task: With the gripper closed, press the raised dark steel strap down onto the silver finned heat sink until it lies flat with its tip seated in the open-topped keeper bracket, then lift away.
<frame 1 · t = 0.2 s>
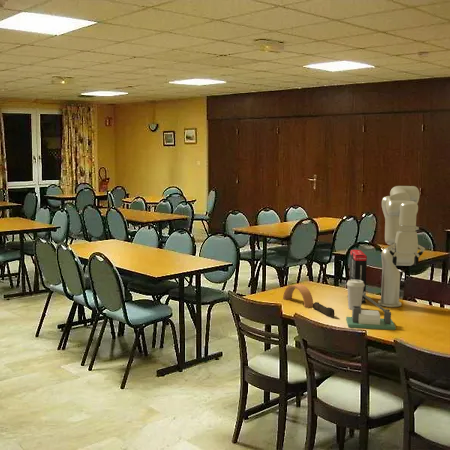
hand: (405, 264, 287), 31 cm above the table, tool pointing down, fingers open, 9 cm apart
graphics card box: (356, 299, 344), on the table
steel strap: (376, 303, 295), point 11 cm above the table, hinge at 35.0°
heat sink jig: (370, 324, 296), on the table
arch: (297, 303, 336), on the table
hand tool: (325, 314, 315), on the table
coffee cup: (354, 308, 325), on the table
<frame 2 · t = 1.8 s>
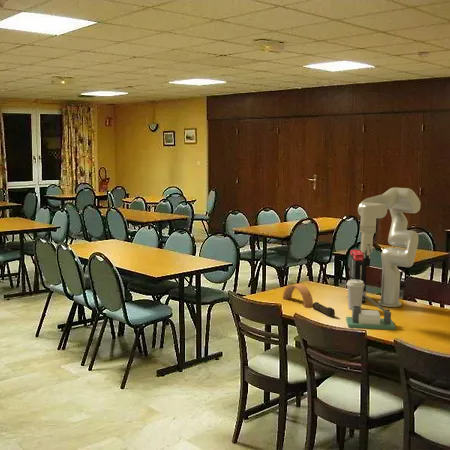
hand: (366, 265, 303), 27 cm above the table, tool pointing down, fingers closed
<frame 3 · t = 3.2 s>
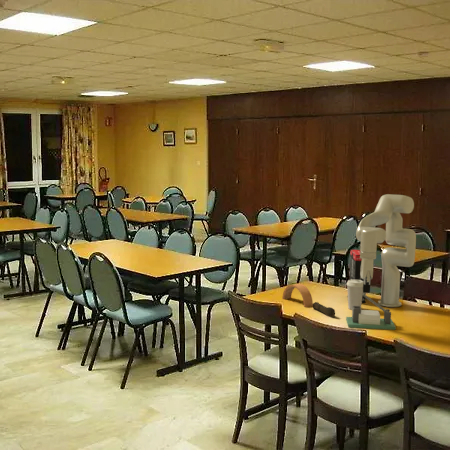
hand: (366, 292, 294), 16 cm above the table, tool pointing down, fingers closed
steel strap: (376, 303, 295), point 11 cm above the table, hinge at 35.0°, touching gripper
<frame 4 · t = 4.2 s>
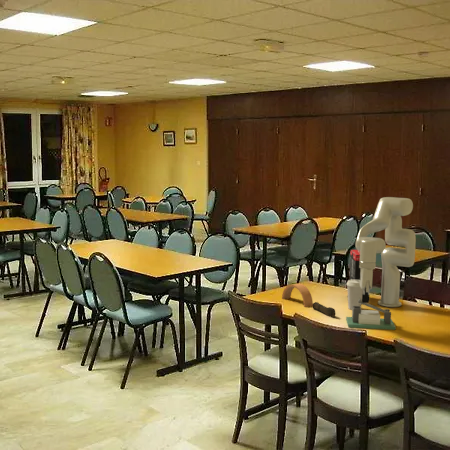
hand: (365, 302, 295), 11 cm above the table, tool pointing down, fingers closed
steel strap: (373, 306, 295), point 9 cm above the table, hinge at 19.7°, touching gripper
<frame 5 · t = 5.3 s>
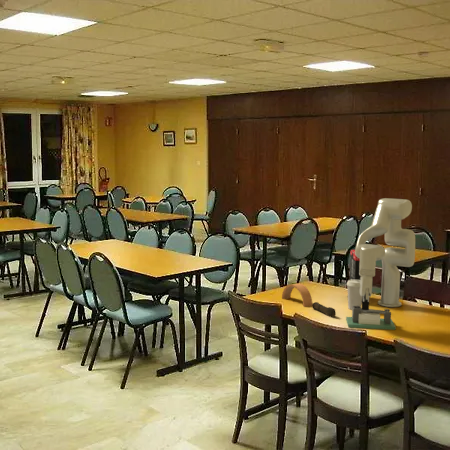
hand: (365, 309, 295), 8 cm above the table, tool pointing down, fingers closed
steel strap: (372, 310, 295), point 7 cm above the table, hinge at 4.1°, touching gripper
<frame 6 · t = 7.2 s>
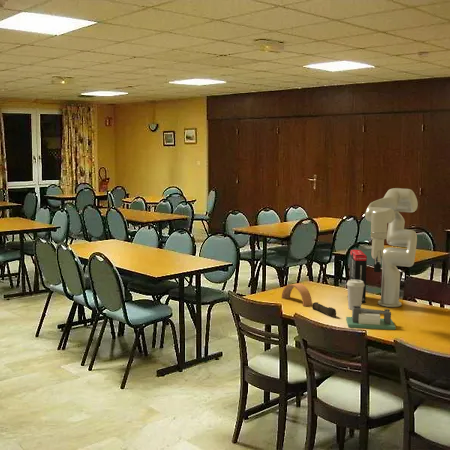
hand: (377, 271, 300), 25 cm above the table, tool pointing down, fingers closed
steel strap: (372, 310, 295), point 7 cm above the table, hinge at 4.0°
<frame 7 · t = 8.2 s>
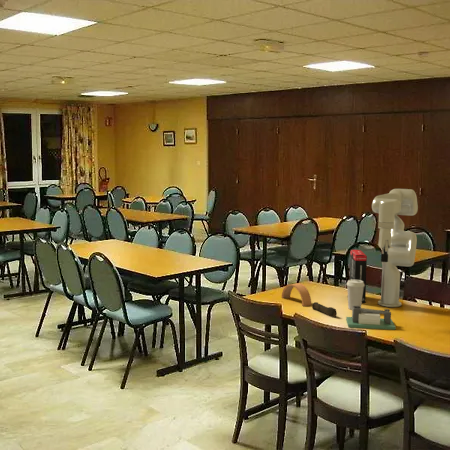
hand: (384, 261, 304), 29 cm above the table, tool pointing down, fingers closed
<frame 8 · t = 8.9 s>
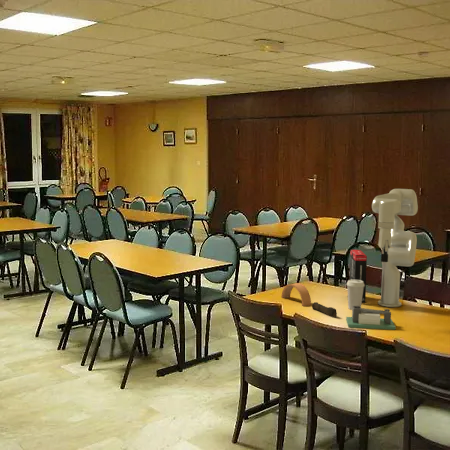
hand: (384, 261, 304), 29 cm above the table, tool pointing down, fingers closed
at the end: steel strap at +4° (first picture: +35°); the gripper is holding nothing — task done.
